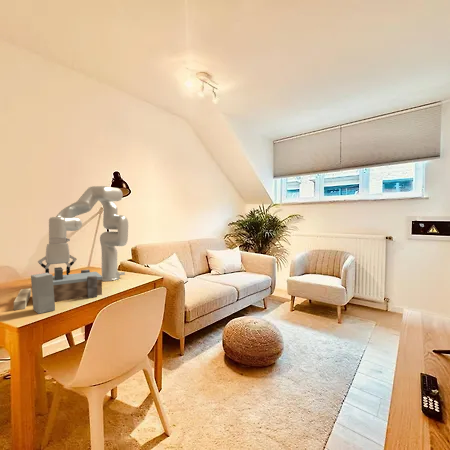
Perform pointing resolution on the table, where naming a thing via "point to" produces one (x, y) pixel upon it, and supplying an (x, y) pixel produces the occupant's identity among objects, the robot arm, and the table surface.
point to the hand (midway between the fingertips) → (57, 275)
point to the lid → (71, 277)
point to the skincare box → (43, 292)
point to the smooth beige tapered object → (22, 299)
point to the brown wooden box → (78, 289)
